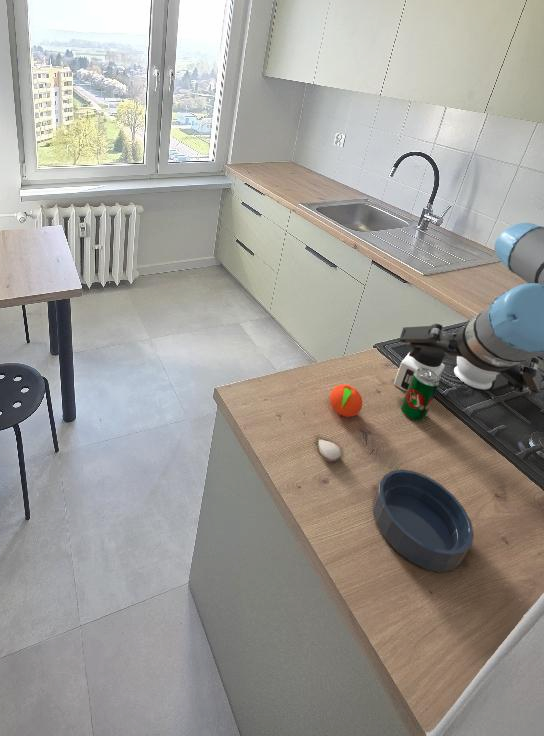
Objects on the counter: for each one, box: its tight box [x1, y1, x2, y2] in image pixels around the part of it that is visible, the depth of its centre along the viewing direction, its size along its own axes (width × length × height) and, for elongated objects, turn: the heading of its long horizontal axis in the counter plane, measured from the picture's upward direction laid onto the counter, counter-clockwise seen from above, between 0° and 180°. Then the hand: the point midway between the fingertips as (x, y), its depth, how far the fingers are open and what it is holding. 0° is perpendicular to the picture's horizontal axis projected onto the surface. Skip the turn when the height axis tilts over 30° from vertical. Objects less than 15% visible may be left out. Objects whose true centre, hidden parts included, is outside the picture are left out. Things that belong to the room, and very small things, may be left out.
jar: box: [453, 356, 500, 390], centre depth 107 cm, size 11×10×15 cm
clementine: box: [329, 383, 363, 418], centre depth 96 cm, size 8×7×7 cm
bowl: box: [372, 469, 475, 573], centre depth 74 cm, size 14×14×6 cm
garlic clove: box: [318, 439, 342, 463], centre depth 87 cm, size 4×5×2 cm
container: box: [393, 348, 446, 393], centre depth 104 cm, size 8×8×13 cm
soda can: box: [400, 368, 440, 421], centre depth 96 cm, size 5×5×12 cm
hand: (453, 365), depth 78 cm, fingers open, 13 cm apart
